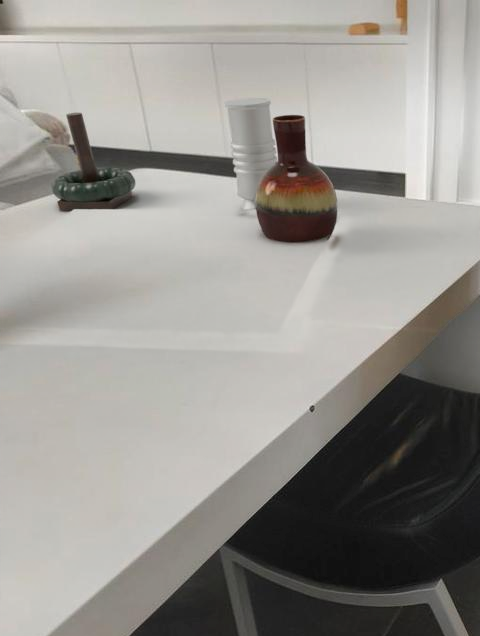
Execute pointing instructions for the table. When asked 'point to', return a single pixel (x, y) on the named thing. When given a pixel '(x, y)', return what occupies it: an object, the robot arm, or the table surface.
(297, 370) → the table surface
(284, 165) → the vase
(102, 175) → the ring
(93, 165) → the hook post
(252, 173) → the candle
